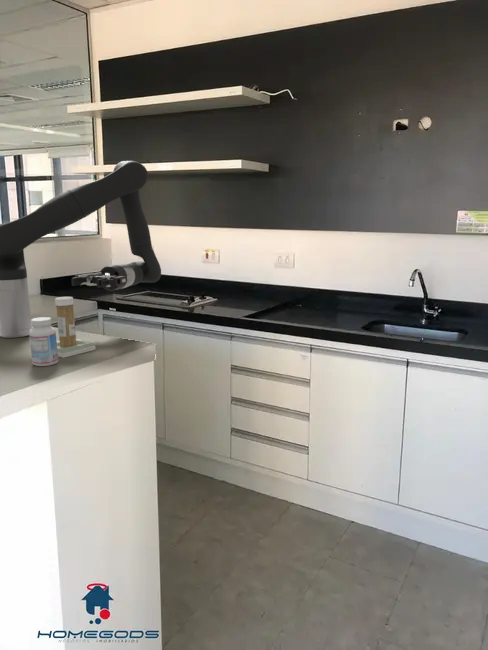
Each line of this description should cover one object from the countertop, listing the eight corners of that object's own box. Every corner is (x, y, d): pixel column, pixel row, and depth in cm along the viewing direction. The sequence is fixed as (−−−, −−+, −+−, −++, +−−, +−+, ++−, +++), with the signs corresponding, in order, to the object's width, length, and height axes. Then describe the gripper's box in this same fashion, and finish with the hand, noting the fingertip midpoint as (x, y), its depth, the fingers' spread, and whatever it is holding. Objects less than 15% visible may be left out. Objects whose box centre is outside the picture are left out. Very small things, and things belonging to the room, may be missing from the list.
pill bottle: (49, 358, 139) (45, 315, 137) (63, 362, 135) (59, 318, 133) (27, 364, 135) (22, 319, 132) (40, 368, 131) (36, 322, 128)
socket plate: (41, 351, 146) (40, 344, 146) (73, 344, 154) (73, 337, 153) (63, 357, 140) (62, 350, 139) (95, 349, 147) (95, 342, 147)
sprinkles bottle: (79, 347, 146) (75, 297, 143) (61, 350, 144) (57, 299, 141) (74, 344, 150) (70, 295, 147) (57, 346, 147) (52, 297, 144)
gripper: (97, 263, 171) (63, 268, 156) (137, 265, 166) (105, 270, 151) (98, 287, 172) (64, 294, 157) (137, 290, 167) (106, 297, 152)
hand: (85, 282), depth 154 cm, fingers open, 8 cm apart
